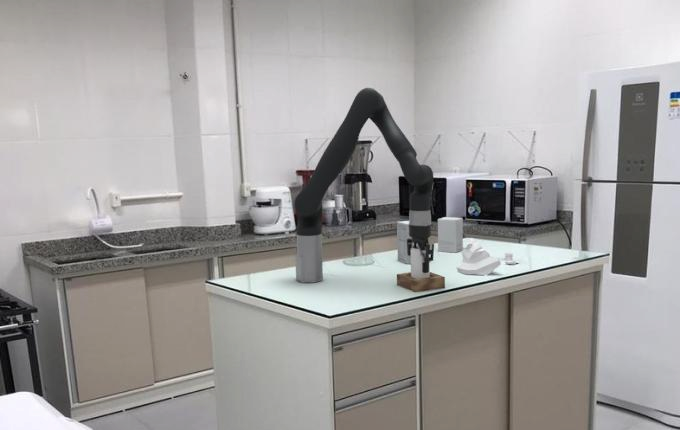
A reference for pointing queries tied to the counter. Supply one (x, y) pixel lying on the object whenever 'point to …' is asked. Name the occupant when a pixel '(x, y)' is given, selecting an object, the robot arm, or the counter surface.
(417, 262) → the can
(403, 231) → the supplement box
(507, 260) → the teacup and saucer
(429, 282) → the brown open box
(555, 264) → the counter surface
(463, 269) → the white faceted sculpture
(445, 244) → the supplement box
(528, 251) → the counter surface
